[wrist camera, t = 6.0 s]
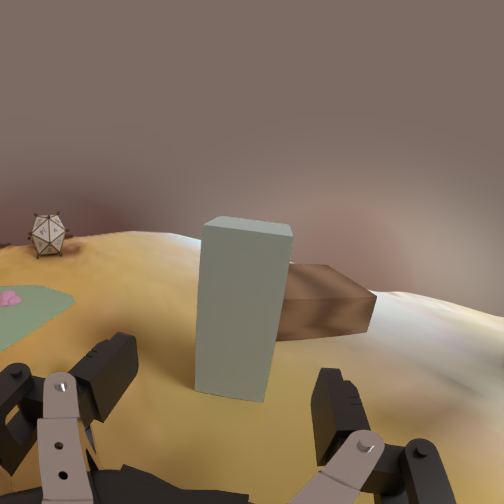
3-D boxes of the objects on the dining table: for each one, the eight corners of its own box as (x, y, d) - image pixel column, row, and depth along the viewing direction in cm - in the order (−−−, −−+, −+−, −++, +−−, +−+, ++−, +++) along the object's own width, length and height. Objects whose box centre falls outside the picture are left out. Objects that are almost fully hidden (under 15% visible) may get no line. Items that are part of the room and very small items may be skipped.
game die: (55, 277, 40) (56, 241, 35) (20, 259, 37) (17, 221, 31) (73, 244, 47) (79, 208, 41) (41, 228, 44) (43, 191, 38)
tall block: (266, 363, 23) (289, 224, 20) (263, 402, 18) (293, 236, 15) (209, 354, 23) (220, 215, 20) (194, 390, 18) (202, 224, 15)
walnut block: (320, 296, 41) (326, 264, 40) (365, 334, 30) (377, 296, 29) (243, 296, 38) (248, 261, 36) (271, 344, 26) (280, 299, 25)
